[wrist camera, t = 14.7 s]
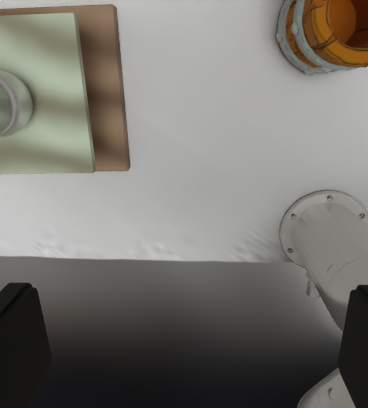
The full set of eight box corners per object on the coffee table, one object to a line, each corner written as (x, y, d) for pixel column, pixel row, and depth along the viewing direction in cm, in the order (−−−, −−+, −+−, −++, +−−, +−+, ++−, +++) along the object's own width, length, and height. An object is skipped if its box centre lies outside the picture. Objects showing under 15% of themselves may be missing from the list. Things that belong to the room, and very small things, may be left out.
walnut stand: (130, 167, 48) (112, 189, 39) (-6, 169, 49) (-54, 191, 40) (116, 7, 41) (91, -13, 32) (-42, 14, 42) (-111, -3, 33)
